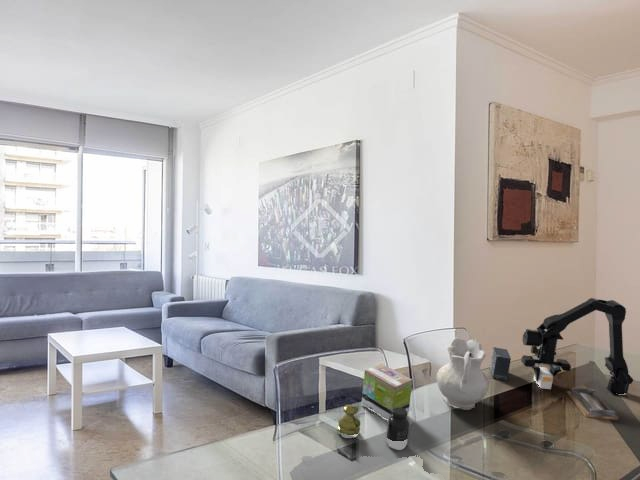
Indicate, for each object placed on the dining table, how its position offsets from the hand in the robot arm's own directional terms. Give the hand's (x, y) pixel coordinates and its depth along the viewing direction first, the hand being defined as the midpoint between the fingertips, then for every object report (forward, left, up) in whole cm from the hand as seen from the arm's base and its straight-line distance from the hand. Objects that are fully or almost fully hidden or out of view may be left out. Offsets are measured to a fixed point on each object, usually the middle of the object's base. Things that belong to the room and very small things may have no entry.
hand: (542, 381), depth 211 cm
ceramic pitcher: (+39, +25, -2) cm, 47 cm away
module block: (0, 0, -1) cm, 1 cm away
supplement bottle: (+65, +57, -2) cm, 87 cm away
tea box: (+69, +37, -2) cm, 78 cm away
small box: (+17, -5, -2) cm, 18 cm away
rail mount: (-14, +15, -1) cm, 21 cm away
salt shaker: (+81, +54, -2) cm, 97 cm away
